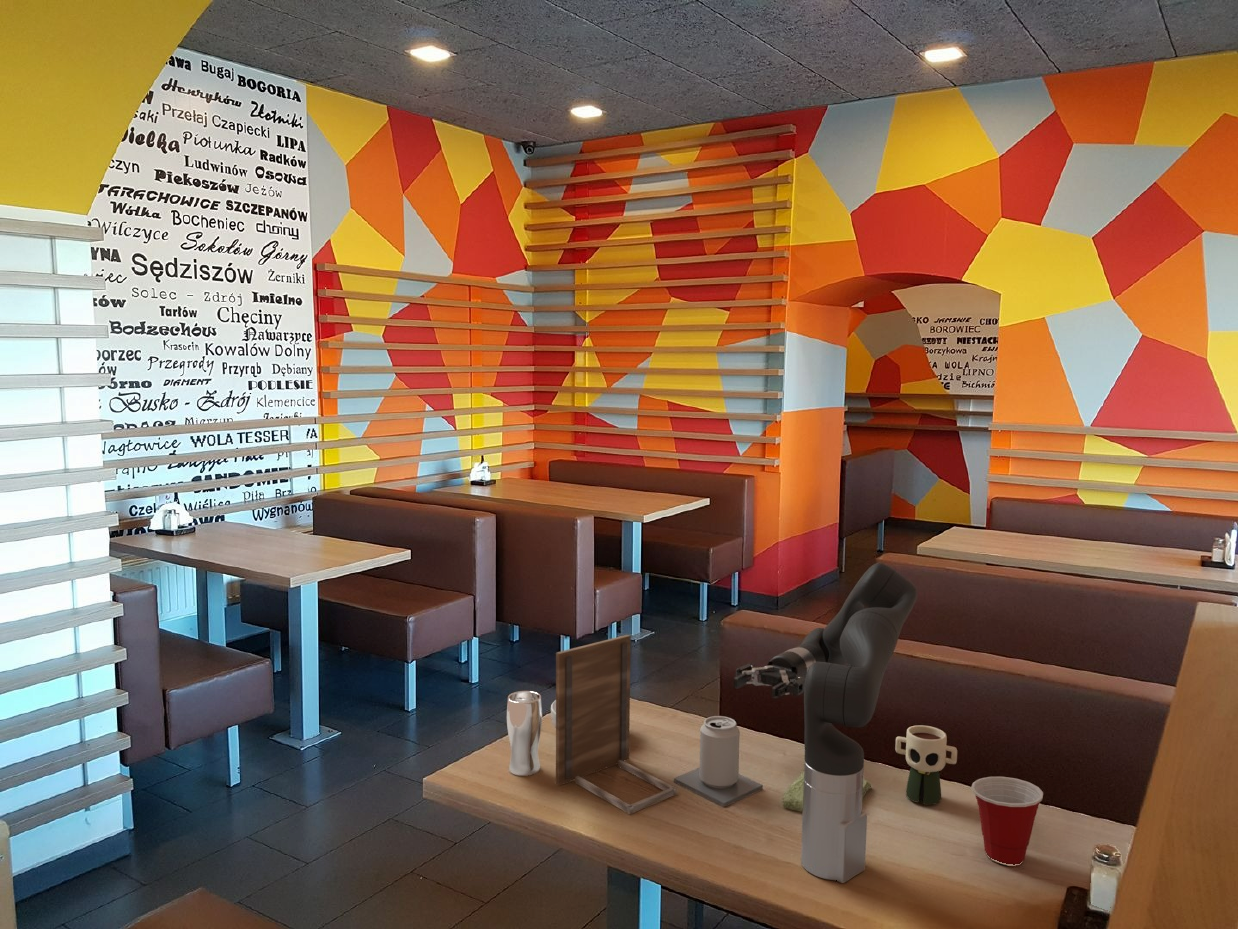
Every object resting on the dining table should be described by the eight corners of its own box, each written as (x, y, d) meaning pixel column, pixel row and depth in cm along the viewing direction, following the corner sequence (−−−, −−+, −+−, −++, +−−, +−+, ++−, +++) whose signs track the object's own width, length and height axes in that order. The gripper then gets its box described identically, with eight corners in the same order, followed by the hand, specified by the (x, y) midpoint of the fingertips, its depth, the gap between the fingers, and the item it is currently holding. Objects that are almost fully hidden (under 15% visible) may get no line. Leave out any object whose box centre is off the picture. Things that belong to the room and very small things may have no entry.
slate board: (762, 789, 169) (762, 785, 169) (723, 807, 162) (723, 803, 162) (712, 765, 179) (712, 762, 179) (673, 782, 172) (673, 778, 172)
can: (692, 776, 172) (693, 717, 171) (725, 769, 175) (727, 711, 174) (711, 793, 166) (712, 731, 164) (745, 786, 169) (747, 725, 167)
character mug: (889, 800, 165) (892, 733, 164) (896, 785, 172) (899, 720, 170) (951, 814, 160) (955, 745, 159) (956, 798, 167) (960, 731, 165)
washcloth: (873, 789, 171) (874, 773, 170) (846, 830, 156) (847, 812, 155) (808, 773, 177) (808, 757, 177) (775, 810, 162) (776, 793, 162)
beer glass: (544, 762, 180) (545, 691, 178) (538, 778, 173) (538, 704, 171) (511, 761, 180) (510, 689, 179) (503, 776, 174) (503, 702, 172)
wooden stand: (688, 789, 169) (691, 657, 166) (617, 820, 157) (618, 678, 154) (625, 757, 182) (627, 634, 180) (555, 784, 171) (556, 652, 168)
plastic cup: (979, 833, 154) (983, 766, 153) (1046, 855, 147) (1051, 785, 146) (958, 859, 146) (962, 789, 144) (1028, 883, 139) (1033, 810, 138)
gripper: (762, 644, 193) (724, 662, 181) (823, 658, 185) (787, 677, 172) (761, 678, 194) (723, 698, 181) (822, 693, 185) (786, 715, 173)
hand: (754, 688), depth 177 cm, fingers open, 8 cm apart
